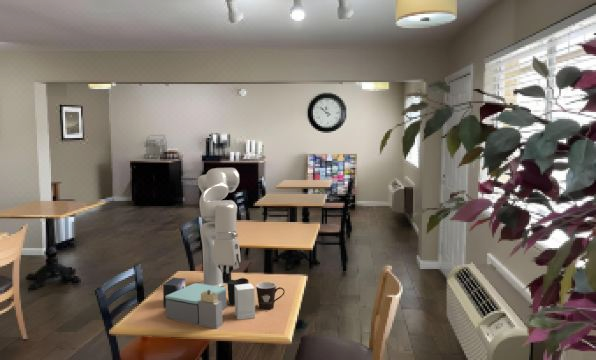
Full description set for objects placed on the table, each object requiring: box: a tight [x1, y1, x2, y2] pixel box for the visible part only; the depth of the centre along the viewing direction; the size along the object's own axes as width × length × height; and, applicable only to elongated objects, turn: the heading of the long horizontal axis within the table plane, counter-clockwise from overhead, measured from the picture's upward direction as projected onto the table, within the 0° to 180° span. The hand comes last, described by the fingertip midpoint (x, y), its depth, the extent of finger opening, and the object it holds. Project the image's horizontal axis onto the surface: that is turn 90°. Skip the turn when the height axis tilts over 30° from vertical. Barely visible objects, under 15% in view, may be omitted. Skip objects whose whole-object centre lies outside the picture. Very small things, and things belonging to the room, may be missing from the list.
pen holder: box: [226, 277, 249, 307], centre depth 221 cm, size 9×9×10 cm
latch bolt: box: [201, 290, 218, 303], centre depth 196 cm, size 3×6×4 cm, turn 64°
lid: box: [165, 282, 227, 304], centre depth 209 cm, size 20×16×1 cm
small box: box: [162, 276, 187, 308], centre depth 221 cm, size 11×6×10 cm, turn 168°
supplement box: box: [234, 283, 256, 320], centre depth 206 cm, size 7×7×13 cm
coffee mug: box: [255, 281, 286, 311], centre depth 214 cm, size 12×9×10 cm
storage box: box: [165, 290, 227, 329], centre depth 207 cm, size 20×25×10 cm
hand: (226, 282), depth 191 cm, fingers closed
